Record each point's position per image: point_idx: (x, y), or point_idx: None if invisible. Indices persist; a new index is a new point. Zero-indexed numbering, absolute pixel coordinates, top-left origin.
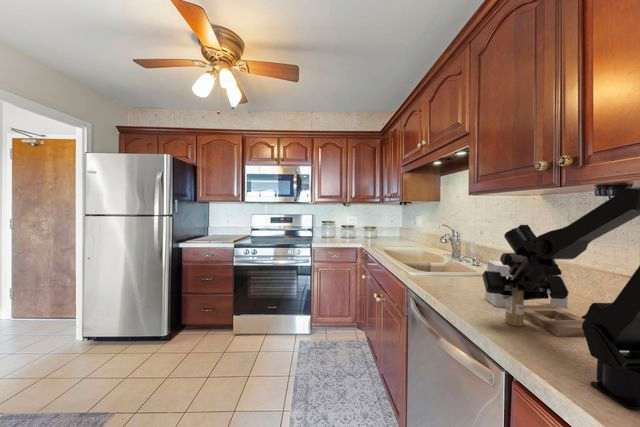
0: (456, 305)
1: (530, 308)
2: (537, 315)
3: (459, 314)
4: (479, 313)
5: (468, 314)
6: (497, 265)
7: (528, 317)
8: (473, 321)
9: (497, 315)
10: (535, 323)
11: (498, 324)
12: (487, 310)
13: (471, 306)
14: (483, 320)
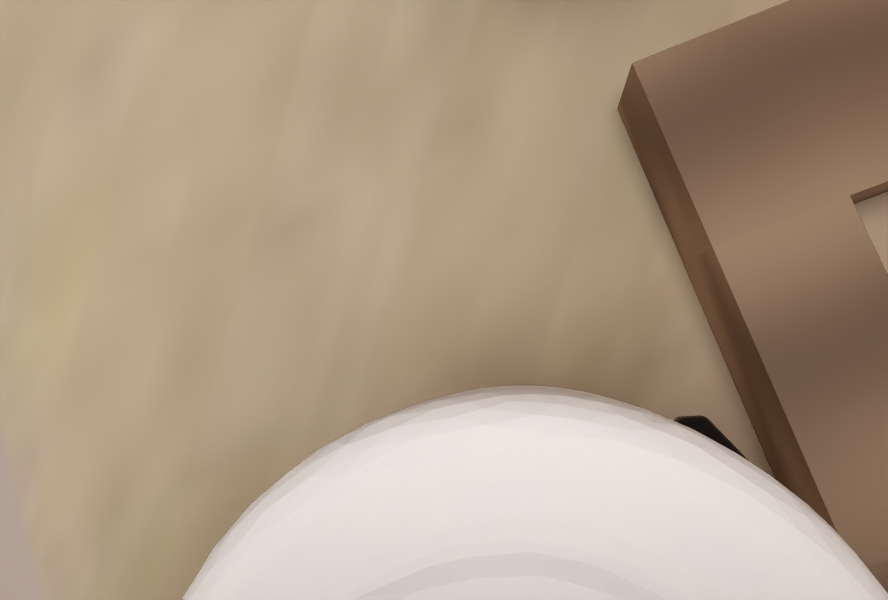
0: (56, 116)
1: (850, 116)
2: (846, 394)
3: (19, 405)
4: (238, 287)
5: (112, 368)
6: None
7: (733, 340)
8: (109, 571)
9: (420, 275)
10: (767, 443)
11: None
12: (354, 146)
13: (211, 80)
14: (220, 501)
